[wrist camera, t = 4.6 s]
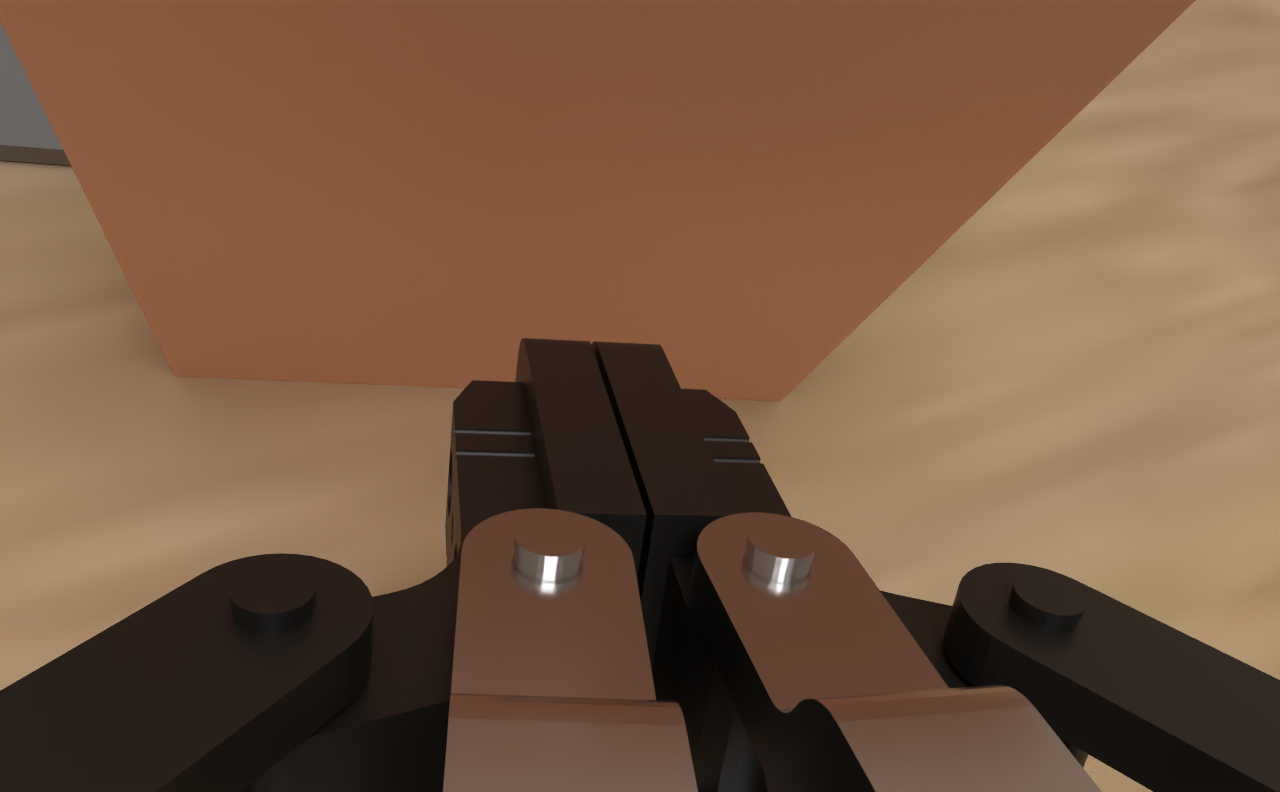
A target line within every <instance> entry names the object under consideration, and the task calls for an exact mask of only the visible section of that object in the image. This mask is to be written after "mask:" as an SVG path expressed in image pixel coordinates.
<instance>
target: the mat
mask: <svg viewBox="0 0 1280 792" xmlns="http://www.w3.org/2000/svg"><path fill="white" fill-rule="evenodd" d="M0 160H5V161H18V162H31V163H44V164H57V165H70V166H71V164H70V162H69V160H68V158H67V156H66V154H65V152H64V150H63V148H62V146H61V144H60V142H59V140H58V138H57V136H56V134H55V132H54V130H53V128H52V126H51V124H50V121H49V119H48V117H47V115H46V113H45V111H44V109H43V107H42V105H41V103H40V101H39V99H38V97H37V95H36V93H35V91H34V89H33V87H32V85H31V83H30V81H29V79H28V77H27V75H26V73H25V71H24V69H23V67H22V65H21V63H20V61H19V59H18V57H17V55H16V53H15V50H14V48H13V46H12V44H11V42H10V40H9V38H8V36H7V34H6V32H5V30H4V28H3V26H2V24H1V22H0Z"/></svg>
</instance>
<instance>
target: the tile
mask: <svg viewBox="0 0 1280 792" xmlns="http://www.w3.org/2000/svg"><path fill="white" fill-rule="evenodd" d="M1194 1H1195V0H0V22H1V24H2V26H3V28H4V30H5V32H6V34H7V36H8V38H9V40H10V42H11V44H12V46H13V48H14V50H15V53H16V55H17V57H18V59H19V61H20V63H21V65H22V67H23V69H24V71H25V73H26V75H27V77H28V79H29V81H30V83H31V85H32V87H33V89H34V91H35V93H36V95H37V97H38V99H39V101H40V103H41V105H42V107H43V109H44V111H45V113H46V115H47V117H48V119H49V121H50V124H51V126H52V128H53V130H54V132H55V134H56V136H57V138H58V140H59V142H60V144H61V146H62V148H63V150H64V152H65V154H66V156H67V158H68V160H69V162H70V164H71V166H72V168H73V170H74V172H75V174H76V176H77V178H78V180H79V182H80V184H81V186H82V188H83V190H84V192H85V195H86V197H87V199H88V201H89V203H90V205H91V207H92V209H93V211H94V213H95V215H96V217H97V219H98V221H99V223H100V225H101V227H102V229H103V231H104V233H105V235H106V237H107V239H108V241H109V243H110V245H111V247H112V249H113V251H114V253H115V255H116V257H117V259H118V261H119V263H120V266H121V268H122V270H123V272H124V274H125V276H126V278H127V280H128V282H129V284H130V286H131V288H132V290H133V292H134V294H135V296H136V298H137V300H138V302H139V304H140V306H141V308H142V310H143V312H144V314H145V316H146V318H147V320H148V322H149V324H150V326H151V328H152V330H153V332H154V334H155V336H156V339H157V341H158V343H159V345H160V347H161V349H162V351H163V353H164V355H165V357H166V359H167V361H168V363H169V365H170V367H171V369H172V371H173V373H174V375H175V376H186V377H210V378H235V379H259V380H283V381H307V382H331V383H355V384H379V385H403V386H427V387H451V388H466V387H467V386H468V385H469V383H470V382H471V381H472V380H479V381H503V382H515V381H516V370H517V360H518V352H519V346H520V342H521V339H522V338H534V339H554V340H574V341H589V342H590V343H591V345H592V343H593V342H594V341H598V342H618V343H639V344H659V345H661V347H662V348H663V350H664V352H665V355H666V357H667V359H668V361H669V363H670V366H671V368H672V370H673V372H674V374H675V376H676V379H677V381H678V383H679V385H680V387H681V389H700V390H707V391H708V392H710V393H711V394H712V395H714V396H715V397H716V398H718V399H740V400H764V401H781V400H782V399H783V398H784V397H785V396H786V395H787V394H788V393H789V392H790V391H791V390H792V389H793V388H794V387H796V386H797V385H798V384H799V383H800V382H801V381H802V380H803V379H804V378H805V377H806V376H807V375H808V374H809V373H810V372H811V371H812V370H813V369H814V368H815V367H816V366H817V365H818V364H819V363H820V362H821V361H822V360H823V359H825V358H826V357H827V356H828V355H829V354H830V353H831V352H832V351H833V350H834V349H835V348H836V347H837V346H838V345H839V344H840V343H841V342H842V341H843V340H844V339H845V338H846V337H847V336H848V335H849V334H850V333H851V332H852V331H854V330H855V329H856V328H857V327H858V326H859V325H860V324H861V323H862V322H863V321H864V320H865V319H866V318H867V317H868V316H869V315H870V314H871V313H872V312H873V311H874V310H875V309H876V308H877V307H878V306H879V305H880V304H881V303H883V302H884V301H885V300H886V299H887V298H888V297H889V296H890V295H891V294H892V293H893V292H894V291H895V290H896V289H897V288H898V287H899V286H900V285H901V284H902V283H903V282H904V281H905V280H906V279H907V278H908V277H909V276H910V275H912V274H913V273H914V272H915V271H916V270H917V269H918V268H919V267H920V266H921V265H922V264H923V263H924V262H925V261H926V260H927V259H928V258H929V257H930V256H931V255H932V254H933V253H934V252H935V251H936V250H937V249H938V248H939V247H941V246H942V245H943V244H944V243H945V242H946V241H947V240H948V239H949V238H950V237H951V236H952V235H953V234H954V233H955V232H956V231H957V230H958V229H959V228H960V227H961V226H962V225H963V224H964V223H965V222H966V221H967V220H968V219H970V218H971V217H972V216H973V215H974V214H975V213H976V212H977V211H978V210H979V209H980V208H981V207H982V206H983V205H984V204H985V203H986V202H987V201H988V200H989V199H990V198H991V197H992V196H993V195H994V194H995V193H996V192H997V191H999V190H1000V189H1001V188H1002V187H1003V186H1004V185H1005V184H1006V183H1007V182H1008V181H1009V180H1010V179H1011V178H1012V177H1013V176H1014V175H1015V174H1016V173H1017V172H1018V171H1019V170H1020V169H1021V168H1022V167H1023V166H1024V165H1025V164H1026V163H1028V162H1029V161H1030V160H1031V159H1032V158H1033V157H1034V156H1035V155H1036V154H1037V153H1038V152H1039V151H1040V150H1041V149H1042V148H1043V147H1044V146H1045V145H1046V144H1047V143H1048V142H1049V141H1050V140H1051V139H1052V138H1053V137H1054V136H1055V135H1057V134H1058V133H1059V132H1060V131H1061V130H1062V129H1063V128H1064V127H1065V126H1066V125H1067V124H1068V123H1069V122H1070V121H1071V120H1072V119H1073V118H1074V117H1075V116H1076V115H1077V114H1078V113H1079V112H1080V111H1081V110H1082V109H1083V108H1084V107H1086V106H1087V105H1088V104H1089V103H1090V102H1091V101H1092V100H1093V99H1094V98H1095V97H1096V96H1097V95H1098V94H1099V93H1100V92H1101V91H1102V90H1103V89H1104V88H1105V87H1106V86H1107V85H1108V84H1109V83H1110V82H1111V81H1112V80H1113V79H1115V78H1116V77H1117V76H1118V75H1119V74H1120V73H1121V72H1122V71H1123V70H1124V69H1125V68H1126V67H1127V66H1128V65H1129V64H1130V63H1131V62H1132V61H1133V60H1134V59H1135V58H1136V57H1137V56H1138V55H1139V54H1140V53H1141V52H1142V51H1144V50H1145V49H1146V48H1147V47H1148V46H1149V45H1150V44H1151V43H1152V42H1153V41H1154V40H1155V39H1156V38H1157V37H1158V36H1159V35H1160V34H1161V33H1162V32H1163V31H1164V30H1165V29H1166V28H1167V27H1168V26H1169V25H1170V24H1171V23H1173V22H1174V21H1175V20H1176V19H1177V18H1178V17H1179V16H1180V15H1181V14H1182V13H1183V12H1184V11H1185V10H1186V9H1187V8H1188V7H1189V6H1190V5H1191V4H1192V3H1193V2H1194Z"/></svg>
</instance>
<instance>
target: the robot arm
mask: <svg viewBox="0 0 1280 792" xmlns="http://www.w3.org/2000/svg"><path fill="white" fill-rule="evenodd" d="M445 528H446V555H447V567H446V568H445V569H444V570H443V571H441V572H440V573H439V574H437V575H436V576H434V577H433V578H431V579H429V580H427V581H425V582H423V583H421V584H419V585H416V586H413V587H411V588H408V589H405V590H401V591H397V592H393V593H389V594H385V595H380V596H375V597H372V596H371V594H370V592H369V589H368V587H367V586H366V585H365V584H364V582H363V581H362V580H361V579H360V578H359V577H358V576H356V575H355V574H354V573H353V572H351V571H350V570H348V569H346V568H344V567H343V566H341V565H338V564H336V563H333V562H331V561H328V560H325V559H321V558H317V557H313V556H306V555H299V554H264V555H257V556H251V557H245V558H241V559H237V560H233V561H230V562H227V563H224V564H222V565H219V566H216V567H214V568H212V569H210V570H208V571H206V572H204V573H202V574H201V575H199V576H197V577H195V578H194V579H192V580H190V581H188V582H187V583H185V584H183V585H182V586H180V587H178V588H176V589H175V590H173V591H171V592H170V593H168V594H166V595H164V596H163V597H161V598H159V599H158V600H156V601H154V602H152V603H151V604H149V605H147V606H145V607H144V608H142V609H140V610H139V611H137V612H135V613H133V614H132V615H130V616H128V617H127V618H125V619H123V620H121V621H120V622H118V623H116V624H115V625H113V626H111V627H109V628H108V629H106V630H104V631H102V632H101V633H99V634H97V635H96V636H94V637H92V638H90V639H89V640H87V641H85V642H84V643H82V644H80V645H78V646H77V647H75V648H73V649H72V650H70V651H68V652H66V653H65V654H63V655H61V656H59V657H58V658H56V659H54V660H53V661H51V662H49V663H47V664H46V665H44V666H42V667H41V668H39V669H37V670H35V671H34V672H32V673H30V674H29V675H27V676H25V677H23V678H22V679H20V680H18V681H16V682H15V683H13V684H11V685H10V686H8V687H6V688H4V689H3V690H1V691H0V792H1101V790H1100V789H1099V788H1098V787H1097V785H1096V784H1095V783H1094V781H1093V780H1092V779H1091V778H1090V776H1089V775H1088V774H1087V773H1086V771H1085V770H1084V769H1083V767H1084V764H1085V762H1086V759H1087V757H1088V754H1089V755H1091V756H1093V757H1094V758H1096V759H1098V760H1100V761H1101V762H1103V763H1105V764H1106V765H1108V766H1110V767H1112V768H1113V769H1115V770H1117V771H1119V772H1120V773H1122V774H1124V775H1126V776H1127V777H1129V778H1131V779H1132V780H1134V781H1136V782H1138V783H1139V784H1141V785H1143V786H1145V787H1146V788H1148V789H1150V790H1152V791H1153V792H1280V680H1278V679H1276V678H1274V677H1272V676H1270V675H1268V674H1266V673H1264V672H1262V671H1260V670H1258V669H1256V668H1254V667H1252V666H1250V665H1248V664H1245V663H1243V662H1241V661H1239V660H1237V659H1235V658H1233V657H1231V656H1229V655H1227V654H1225V653H1223V652H1221V651H1219V650H1217V649H1215V648H1213V647H1211V646H1209V645H1207V644H1205V643H1203V642H1201V641H1199V640H1197V639H1194V638H1192V637H1190V636H1188V635H1186V634H1184V633H1182V632H1180V631H1178V630H1176V629H1174V628H1172V627H1170V626H1168V625H1166V624H1164V623H1162V622H1160V621H1158V620H1156V619H1154V618H1152V617H1150V616H1148V615H1146V614H1144V613H1141V612H1139V611H1137V610H1135V609H1133V608H1131V607H1129V606H1127V605H1125V604H1123V603H1121V602H1119V601H1117V600H1115V599H1113V598H1111V597H1109V596H1107V595H1105V594H1103V593H1101V592H1099V591H1097V590H1095V589H1093V588H1091V587H1088V586H1086V585H1084V584H1082V583H1080V582H1078V581H1076V580H1074V579H1072V578H1069V577H1067V576H1065V575H1062V574H1059V573H1057V572H1054V571H1051V570H1048V569H1044V568H1040V567H1036V566H1031V565H1025V564H1018V563H993V564H986V565H982V566H979V567H976V568H974V569H972V570H971V571H969V572H968V573H967V574H966V575H965V576H964V577H963V578H962V580H961V582H960V584H959V587H958V590H957V594H956V597H955V600H954V604H953V606H949V605H944V604H939V603H934V602H930V601H925V600H920V599H915V598H910V597H906V596H901V595H896V594H892V593H888V592H884V591H880V590H879V589H878V588H877V586H876V585H875V583H874V582H873V581H872V579H871V578H870V576H869V575H868V573H867V572H866V571H865V569H864V568H863V566H862V565H861V564H860V562H859V561H858V559H857V558H856V557H855V555H854V554H853V553H852V551H851V550H850V549H849V548H848V547H847V546H846V545H845V544H844V543H843V542H842V541H840V540H839V539H838V538H837V537H835V536H834V535H832V534H831V533H829V532H827V531H825V530H823V529H822V528H820V527H818V526H815V525H813V524H810V523H808V522H806V521H803V520H799V519H796V518H793V517H791V515H790V513H789V511H788V510H787V508H786V506H785V504H784V502H783V500H782V498H781V496H780V494H779V493H778V491H777V489H776V487H775V485H774V483H773V481H772V479H771V478H770V476H769V474H768V472H767V470H766V468H765V466H764V464H760V457H759V455H758V453H757V451H756V449H755V447H754V445H753V444H752V443H751V442H749V436H748V434H747V432H746V430H745V429H744V427H743V425H742V423H741V421H740V419H739V417H738V415H737V413H736V412H735V411H733V410H732V409H731V408H729V407H728V406H727V405H726V404H724V403H723V402H722V401H720V400H719V399H718V398H716V397H715V396H714V395H712V394H711V393H710V392H708V391H707V390H700V389H681V387H680V385H679V383H678V381H677V379H676V376H675V374H674V372H673V370H672V368H671V366H670V363H669V361H668V359H667V357H666V355H665V352H664V350H663V348H662V347H661V345H659V344H639V343H618V342H598V341H594V342H593V343H592V345H591V343H590V342H589V341H574V340H554V339H534V338H522V339H521V342H520V346H519V352H518V360H517V370H516V381H515V382H503V381H479V380H472V381H471V382H470V383H469V385H468V386H467V387H466V388H465V389H464V390H463V391H462V393H461V394H460V395H459V396H458V397H457V398H456V400H455V401H454V402H453V415H452V431H451V446H450V462H449V477H448V493H447V508H446V524H445Z"/></svg>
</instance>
